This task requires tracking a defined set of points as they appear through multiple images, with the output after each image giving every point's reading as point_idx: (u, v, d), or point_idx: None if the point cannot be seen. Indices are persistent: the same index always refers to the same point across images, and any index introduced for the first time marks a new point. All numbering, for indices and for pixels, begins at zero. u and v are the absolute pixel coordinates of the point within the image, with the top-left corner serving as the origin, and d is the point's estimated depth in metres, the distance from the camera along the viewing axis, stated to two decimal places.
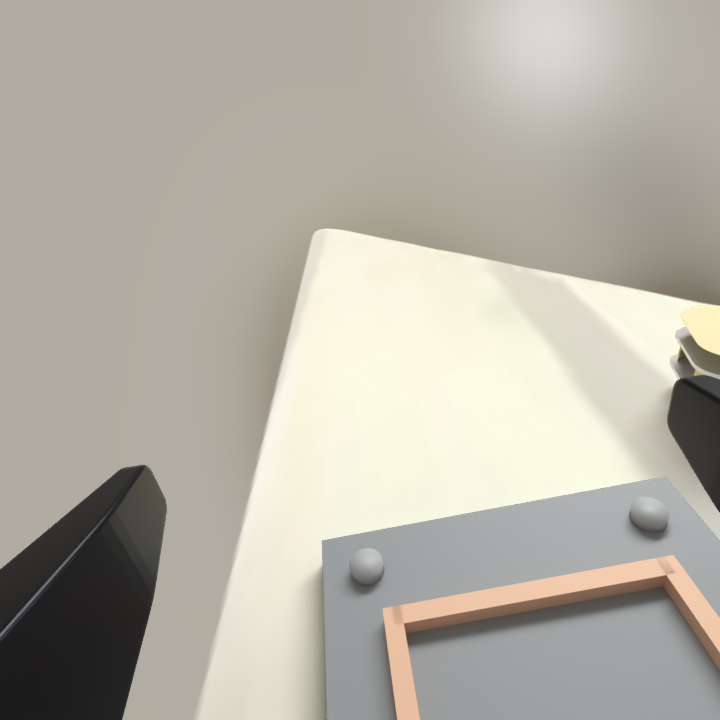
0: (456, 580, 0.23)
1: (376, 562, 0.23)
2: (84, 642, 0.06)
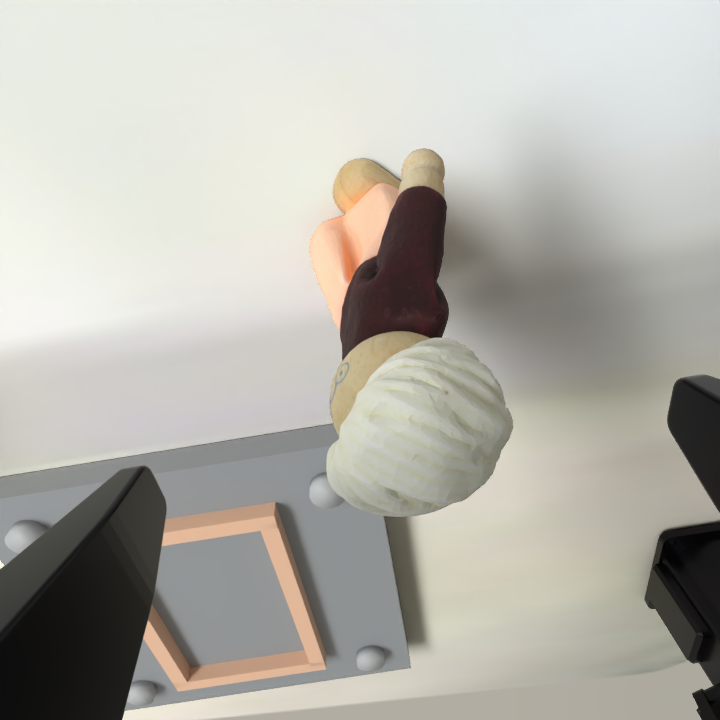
0: None
1: (137, 694, 0.28)
2: (84, 642, 0.06)
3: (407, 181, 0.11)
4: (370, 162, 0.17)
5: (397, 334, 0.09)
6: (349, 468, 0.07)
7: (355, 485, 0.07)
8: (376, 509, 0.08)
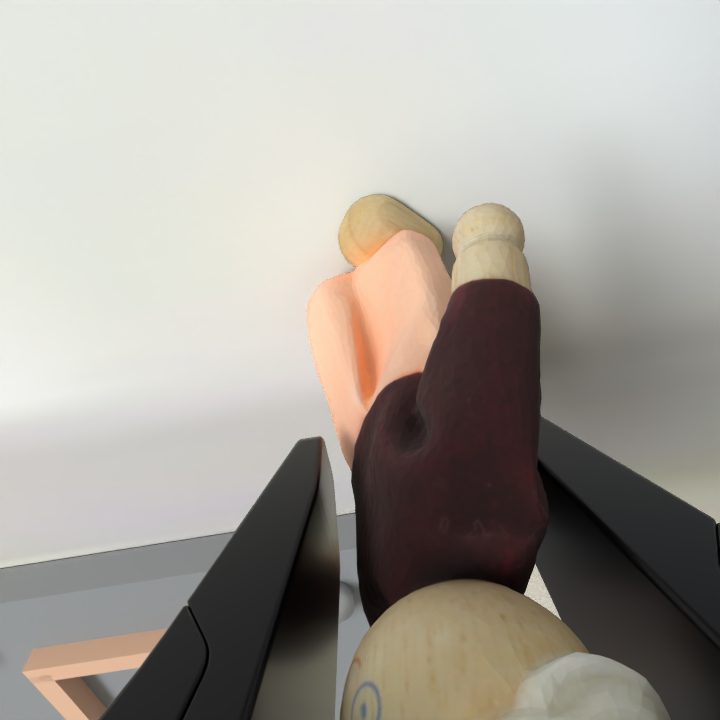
0: None
1: None
2: (317, 606, 0.06)
3: (470, 266, 0.06)
4: (390, 200, 0.12)
5: (480, 624, 0.04)
6: None
7: None
8: None
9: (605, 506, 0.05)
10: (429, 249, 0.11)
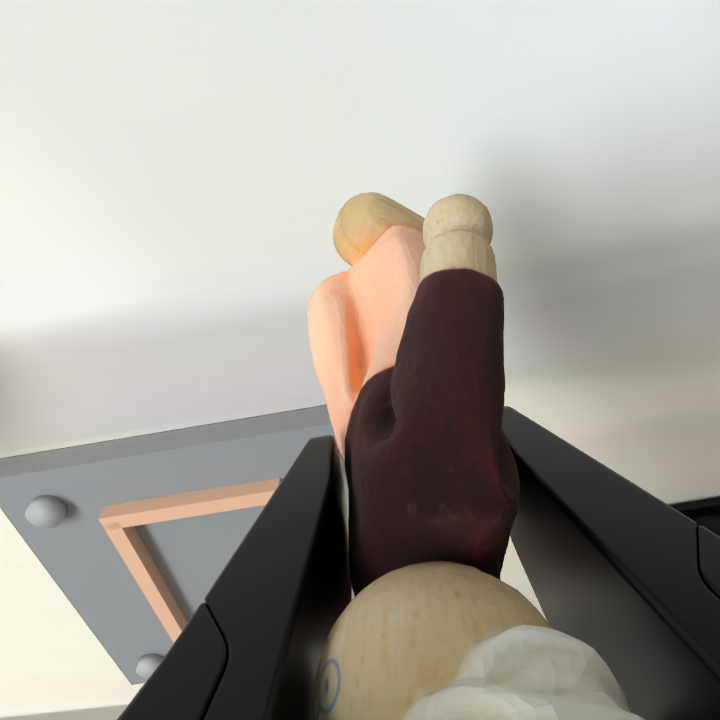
0: (150, 620, 0.29)
1: (148, 666, 0.30)
2: (331, 604, 0.06)
3: (433, 258, 0.06)
4: (380, 197, 0.12)
5: (433, 602, 0.04)
6: None
7: None
8: None
9: (588, 509, 0.05)
10: (418, 242, 0.11)
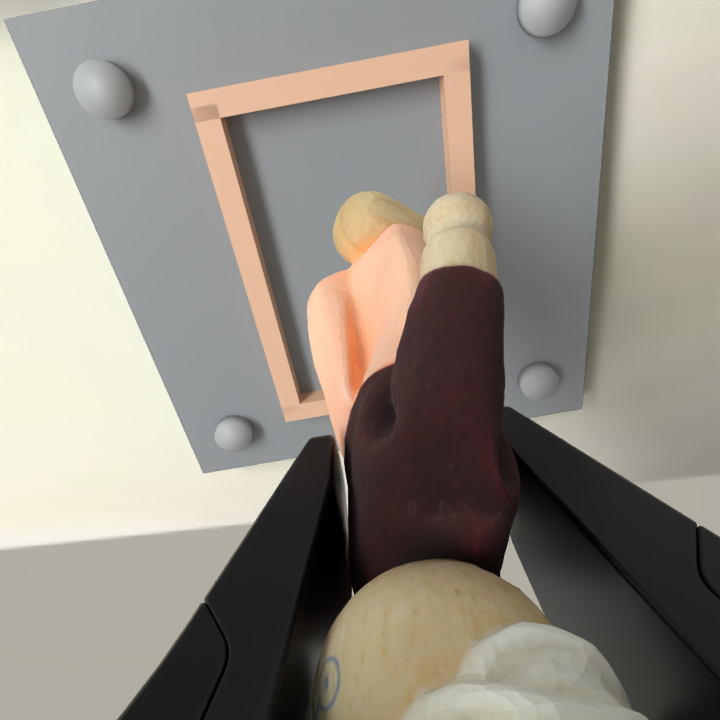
0: (239, 348, 0.20)
1: (231, 428, 0.21)
2: (331, 604, 0.06)
3: (433, 255, 0.06)
4: (379, 195, 0.12)
5: (433, 599, 0.04)
6: None
7: None
8: None
9: (587, 508, 0.05)
10: (418, 241, 0.11)
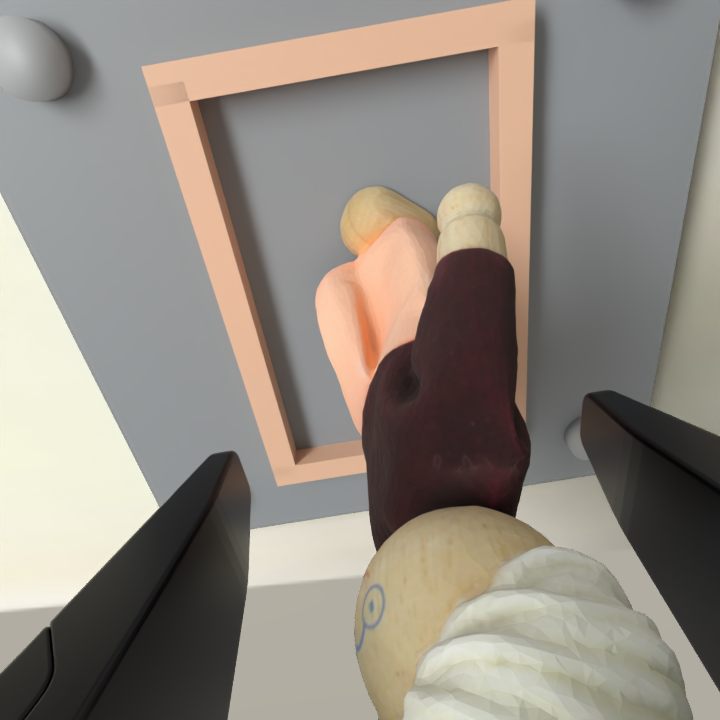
0: (219, 396, 0.16)
1: None
2: (201, 624, 0.06)
3: (450, 239, 0.07)
4: (385, 190, 0.13)
5: (464, 531, 0.05)
6: None
7: None
8: None
9: None
10: (424, 233, 0.12)
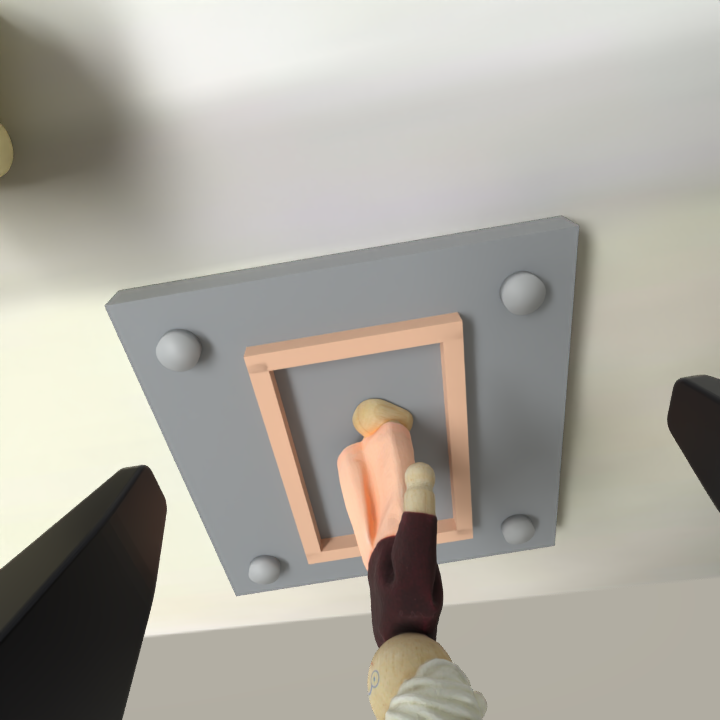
0: (272, 509, 0.25)
1: (263, 568, 0.26)
2: (84, 642, 0.06)
3: (409, 502, 0.16)
4: (380, 402, 0.21)
5: (408, 651, 0.14)
6: None
7: None
8: None
9: None
10: (402, 439, 0.20)
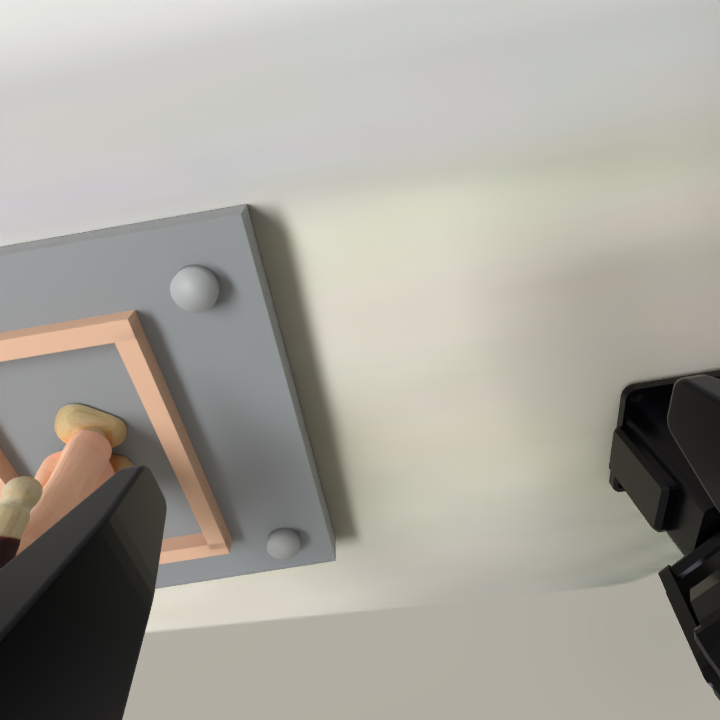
0: None
1: None
2: (84, 642, 0.06)
3: None
4: (78, 407, 0.20)
5: None
6: None
7: None
8: None
9: None
10: (83, 448, 0.19)
